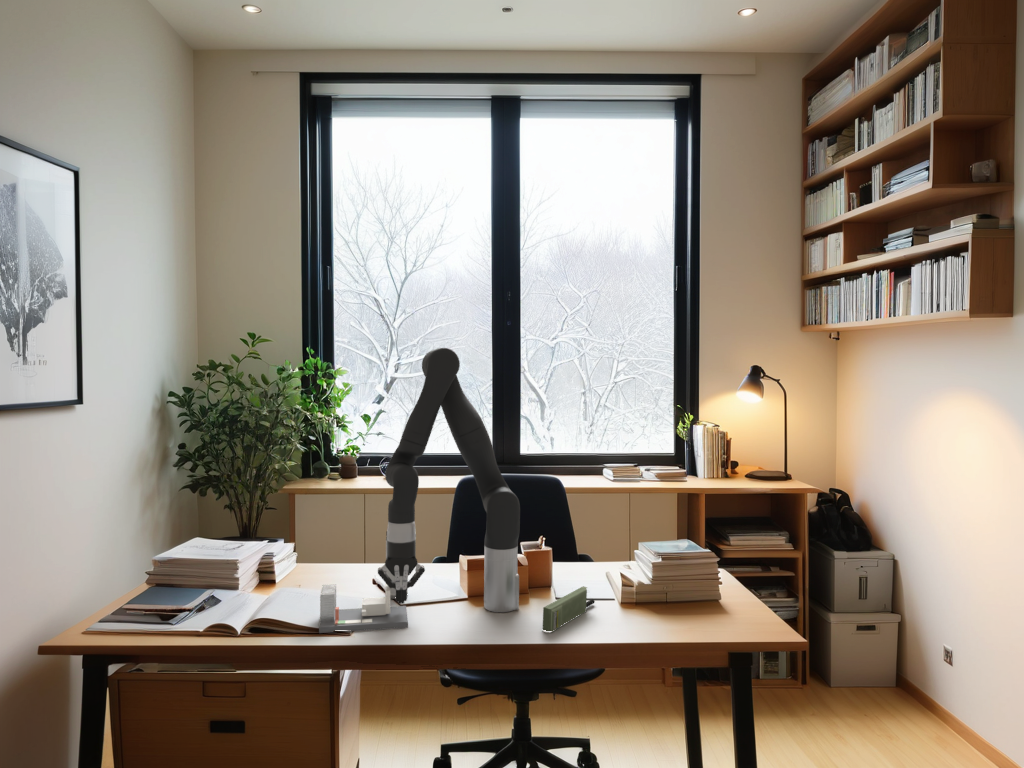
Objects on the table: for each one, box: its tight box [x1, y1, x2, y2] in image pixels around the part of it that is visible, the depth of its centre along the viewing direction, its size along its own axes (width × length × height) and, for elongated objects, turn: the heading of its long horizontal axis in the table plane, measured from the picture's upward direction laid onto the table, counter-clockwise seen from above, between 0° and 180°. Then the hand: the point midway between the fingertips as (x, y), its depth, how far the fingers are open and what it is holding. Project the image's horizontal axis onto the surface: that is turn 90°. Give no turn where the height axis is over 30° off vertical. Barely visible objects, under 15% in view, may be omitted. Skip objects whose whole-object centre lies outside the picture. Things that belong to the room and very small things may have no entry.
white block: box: [361, 583, 391, 616], centre depth 184 cm, size 7×8×6 cm
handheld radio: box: [542, 586, 595, 632], centre depth 187 cm, size 7×3×25 cm
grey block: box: [319, 584, 337, 623], centre depth 182 cm, size 4×8×7 cm, turn 11°
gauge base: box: [318, 605, 409, 634], centre depth 183 cm, size 22×12×2 cm, turn 101°
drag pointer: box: [335, 606, 340, 624], centre depth 178 cm, size 1×4×3 cm, turn 11°
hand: (401, 602), depth 186 cm, fingers closed
